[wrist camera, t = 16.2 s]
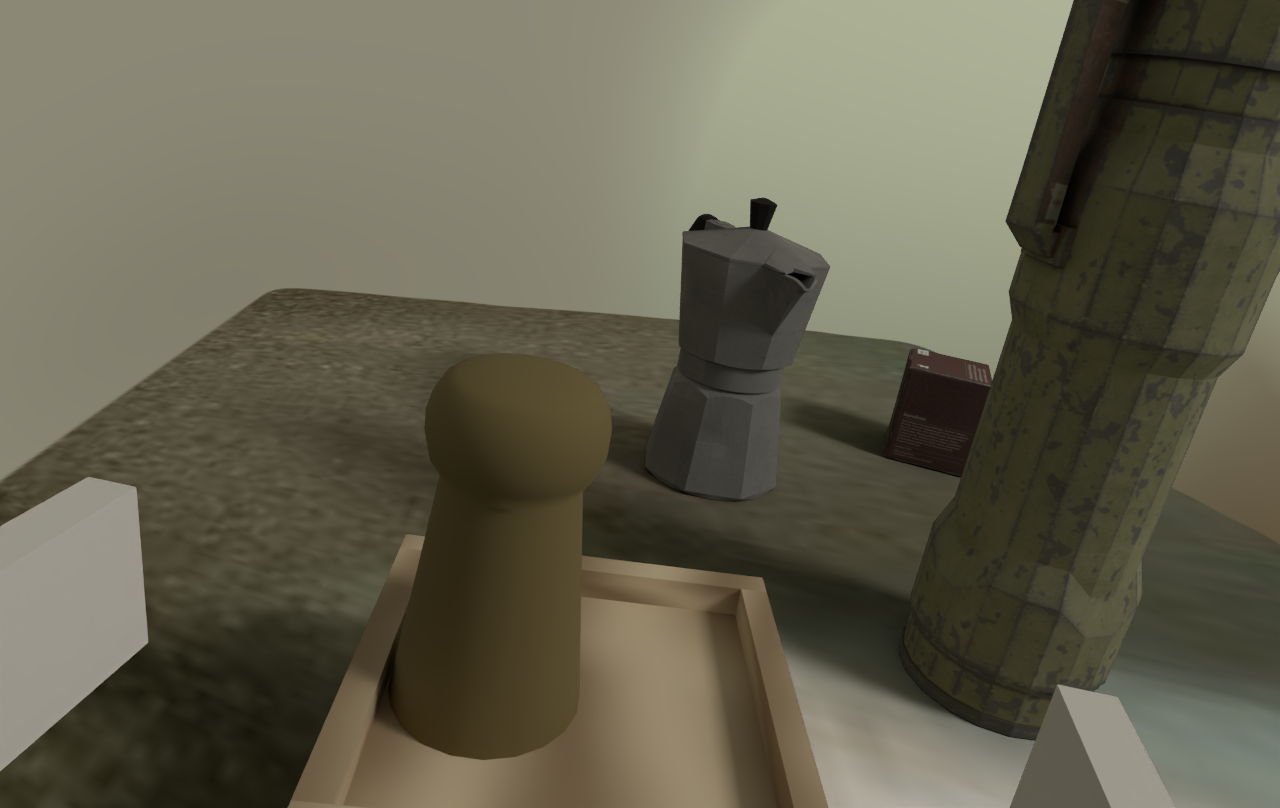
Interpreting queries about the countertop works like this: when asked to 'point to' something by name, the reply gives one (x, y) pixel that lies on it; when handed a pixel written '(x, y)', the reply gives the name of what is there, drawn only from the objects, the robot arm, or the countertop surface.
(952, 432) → the box
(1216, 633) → the countertop surface
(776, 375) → the coffeepot
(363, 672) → the oak stand
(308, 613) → the countertop surface
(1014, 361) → the thermos
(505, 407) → the cork
